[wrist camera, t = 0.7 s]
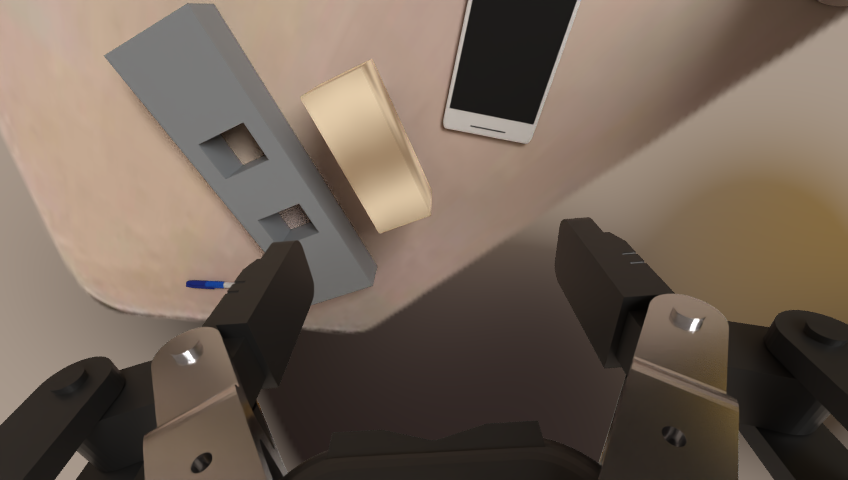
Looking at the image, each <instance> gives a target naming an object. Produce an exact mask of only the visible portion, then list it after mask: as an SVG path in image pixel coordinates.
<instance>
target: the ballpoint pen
mask: <svg viewBox="0 0 848 480" xmlns="http://www.w3.org/2000/svg"><path fill="white" fill-rule="evenodd" d="M232 284H235V282H222V281H221V282H220V281H219V282H218V281H217V282H216V281H199V280H192V281H187V282H186V287H191V288H202V289H214V288H230V287H231V286H232Z"/></svg>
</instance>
